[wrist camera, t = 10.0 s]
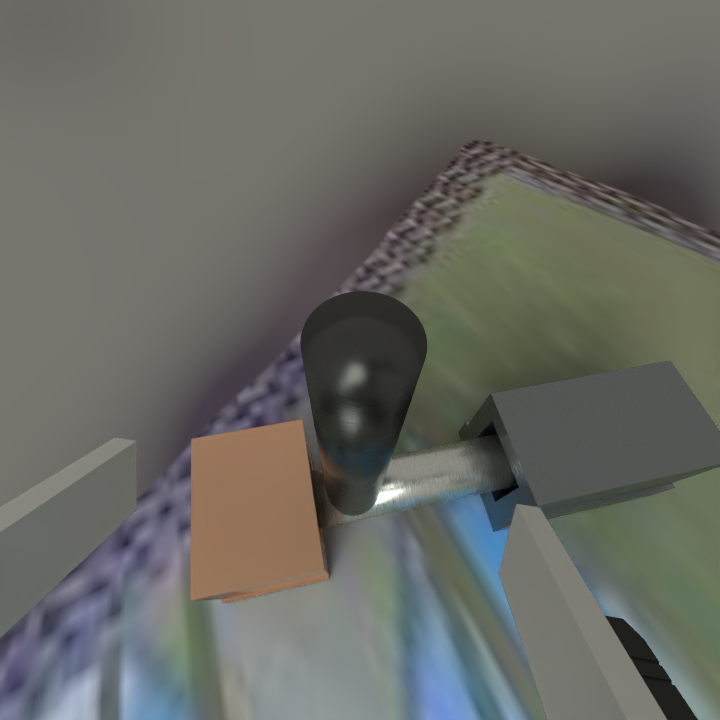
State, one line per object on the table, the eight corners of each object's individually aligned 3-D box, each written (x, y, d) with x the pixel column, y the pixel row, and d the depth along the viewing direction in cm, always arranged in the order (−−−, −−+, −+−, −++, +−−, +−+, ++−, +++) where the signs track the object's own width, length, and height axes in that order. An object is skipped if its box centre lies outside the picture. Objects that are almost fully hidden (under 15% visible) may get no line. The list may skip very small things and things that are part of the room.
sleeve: (603, 404, 31) (667, 356, 25) (654, 494, 28) (743, 464, 21) (458, 432, 29) (489, 388, 23) (493, 531, 26) (540, 511, 20)
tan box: (311, 454, 28) (301, 415, 22) (329, 579, 24) (324, 574, 18) (225, 470, 27) (191, 435, 21) (229, 602, 24) (190, 605, 18)
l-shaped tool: (545, 430, 27) (798, 223, 12) (569, 480, 26) (898, 312, 10) (252, 489, 25) (103, 318, 9) (256, 550, 23) (83, 460, 8)
